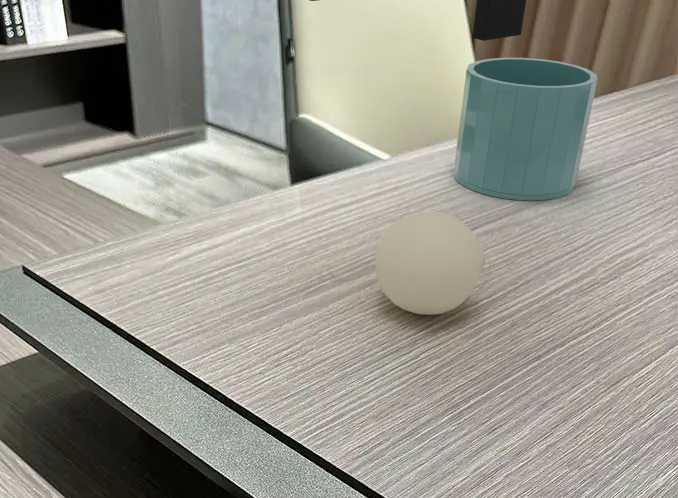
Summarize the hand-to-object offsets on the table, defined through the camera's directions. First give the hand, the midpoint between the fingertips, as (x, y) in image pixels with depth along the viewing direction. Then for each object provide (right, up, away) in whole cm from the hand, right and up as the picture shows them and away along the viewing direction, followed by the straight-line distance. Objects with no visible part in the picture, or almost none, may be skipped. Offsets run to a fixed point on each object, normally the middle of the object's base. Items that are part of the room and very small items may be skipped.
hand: (402, 16), depth 45 cm
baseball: (+3, -16, +11) cm, 19 cm away
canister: (+15, -3, +33) cm, 36 cm away
